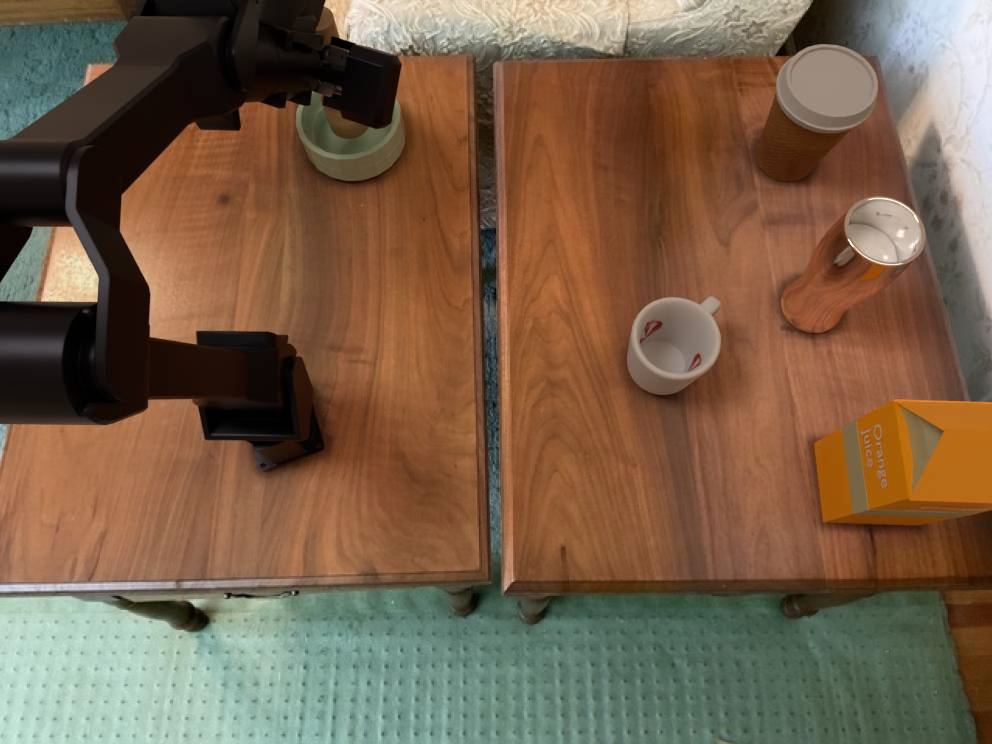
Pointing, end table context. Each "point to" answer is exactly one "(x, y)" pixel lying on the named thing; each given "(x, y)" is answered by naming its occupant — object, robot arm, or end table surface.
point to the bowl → (349, 144)
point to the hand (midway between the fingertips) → (341, 64)
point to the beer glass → (854, 262)
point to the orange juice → (908, 464)
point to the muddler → (336, 122)
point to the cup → (673, 343)
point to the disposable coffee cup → (814, 109)
